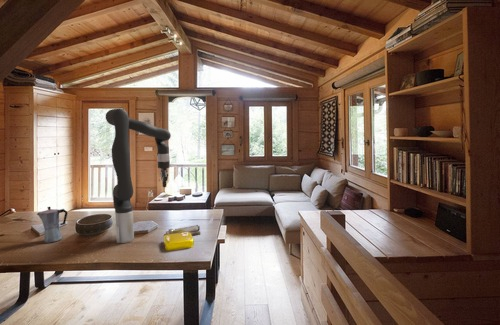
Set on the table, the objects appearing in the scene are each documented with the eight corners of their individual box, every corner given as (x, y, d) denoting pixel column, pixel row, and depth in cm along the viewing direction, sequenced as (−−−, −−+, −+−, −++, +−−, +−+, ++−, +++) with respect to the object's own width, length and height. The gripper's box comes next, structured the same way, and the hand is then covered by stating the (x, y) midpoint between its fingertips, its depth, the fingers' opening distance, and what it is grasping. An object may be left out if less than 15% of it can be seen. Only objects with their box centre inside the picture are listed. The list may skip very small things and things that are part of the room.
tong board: (170, 239, 163) (170, 237, 163) (166, 233, 173) (165, 231, 173) (200, 234, 172) (200, 231, 172) (194, 228, 182) (194, 226, 182)
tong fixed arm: (169, 235, 165) (169, 231, 165) (168, 233, 169) (167, 229, 169) (200, 230, 174) (199, 226, 174) (197, 228, 178) (197, 224, 178)
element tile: (163, 242, 161) (163, 233, 161) (189, 238, 166) (189, 230, 166) (165, 252, 147) (165, 243, 147) (194, 247, 152) (194, 239, 152)
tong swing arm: (175, 233, 169) (175, 229, 169) (174, 232, 170) (174, 228, 170) (198, 229, 176) (198, 225, 176) (198, 228, 178) (197, 224, 177)
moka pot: (41, 239, 166) (38, 205, 164) (71, 235, 171) (69, 203, 169) (35, 244, 157) (32, 209, 155) (67, 241, 162) (65, 207, 160)
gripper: (155, 160, 186) (156, 186, 187) (159, 161, 174) (160, 189, 176) (166, 159, 189) (167, 185, 191) (171, 161, 178) (172, 188, 180)
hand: (164, 187), depth 183 cm, fingers closed
